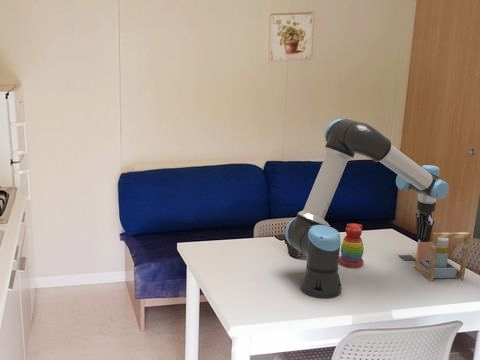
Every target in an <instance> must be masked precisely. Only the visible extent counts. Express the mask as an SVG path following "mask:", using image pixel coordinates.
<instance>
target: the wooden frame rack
mask: <svg viewBox="0 0 480 360" xmlns="http://www.w3.org/2000/svg"><path fill="white" fill-rule="evenodd" d="M471 235H472V234H471V233H470V232H467V231H466V232H465V231H464V232H462V231H461V232H460V231H459V232H458V231H457V232H454V231H453V232H449V231H447V232H440V231H439V232H432V241H431V242H432V248H431V257H430V265H429V270H428V269H426V268H425V267H424V266H423V265H421V263H419V262H418V261H414V265H413V268H414V269H415V270H416V271H417V272H419V273H420V275H422V276H423V277H424V278H425V279H427V280H428V281H429V282H433V281H434V278H433V275H434V266H435V258H436V250H437V242H438V238H448V239H463V245H462V252H461V259H460V266H459V267H460V268H457V267H456V268H457V274H456V278H457V277H458V278H459V279H460V280H461V282H463V281H462V280H464V281H465V275H466V274H465V273H466V267H467V259H468V253H469V246H470V238H471ZM449 263H450V264H452V263H451V262H449ZM458 278H457V279H458ZM459 279H458V280H459ZM460 280H459V281H460Z"/></svg>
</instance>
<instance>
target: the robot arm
mask: <svg viewBox="0 0 480 360" xmlns="http://www.w3.org/2000/svg"><path fill="white" fill-rule="evenodd" d="M324 138H325V142H326V143H325V146H324V150H325V153H326V154H325V156H324V159H323V161H322V163H321V165H320V169H319V171H318V173H317V176H316V178H315V181H314V183H313V186H312V189H311V190H310V193H309V195H308V198H307V200H306V203H305V205H304V208H303V210H301V211H298V212H297V215H296V217H294V218H292V219H291V220H289V222H288V223H287V225H286V228H285V230H284V231H285V232H284V234H285V239H286V241H287V243H288V244H289V245H290V246H291V247H292V248H294V249H295V250H297V251H298V252H300V253H301V254H303V255H305V256H306V266H305V267H306V268H305V270H304V273H303V276H302V279H301V280H300V286H299V288H300V291H302V293H304V294H306V295H308V296H311V297H315V298H322V299H325V298H326V299H327V298H328V299H330V298H335V297H338V296H339V295H340V294H341V293H342V283H341V279H340V275H339V264H340V263H339V256H340V253H341V245H342V243H341V233H340V232H339V230H337V229H336V228H334V227H331V226H327V224H326V221H325V217H326V215H327V212H328V209H329V207H330V205H331V203H332V200H333V198H334V196H335V193H336V190H337V188H338V185H339V183H340V182H341V181H340V180H341V179H342V176H343V173H344V170H345V168H346V166H347V163H348V162H349V161H352V160H353V159H354V157H355V155H356V154H357V155H361V156H364V157H367V158H369V159H370V160H372V161H374V162H380V163H381V165H382V164H383V165H384V166H385V167H386V168H387V169H390V170H391V171H392V172H394V173H395V174H396V175H397V176H396V179H395V184H396V187H397V189H399V190H400V191H413V192H414V193H415V192H416V193H418V194H417V200H418V201H417V202H416V203H417V204H416V210H418V212H416V213H415V219H416V220H415V223H416V224H415V229H416V230H415V231H416V232H415V233H416V234H415V235H416V236H417V238H418V241H417V243H418V242H427V241H430V238H431V236H432V232H433V231H432V230H433V226H434V224H435V220H433V219H432V218H433V216H432V215H433V212H435V211H436V208H437V207H436V205H437V203H436V202H437V200H442V199H444V198H445V197H447V195H448V192H449V188H450V187H449V184H448V182H446V181H444V180H442V179H440V174H441V173H440V170H441V169H440V167H438V166H436V165H432V164H431V165H430V164H424V165H422V166H420V165H419V164H418V163H416V162H415V161H414V160H413V159H411V158H409V156H407V155H406V154H404V152H402V151H400V150H399V149H398V148H396V147H395V146H394V145H392V141H391V140H390V139H389V138H387V137H386V136H385V135H384V134H383V133H381V132H380V131H379V130H377V129H376V128H374V127H373V126H372V125H369V124H367V123H365V122H361V121H357V120H356V121H355V120H352V119H349V118H346V119H345V118H339V119H335V120H333V121H332V122H330V124H328V126H327V127H326V129H325V132H324Z"/></svg>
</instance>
